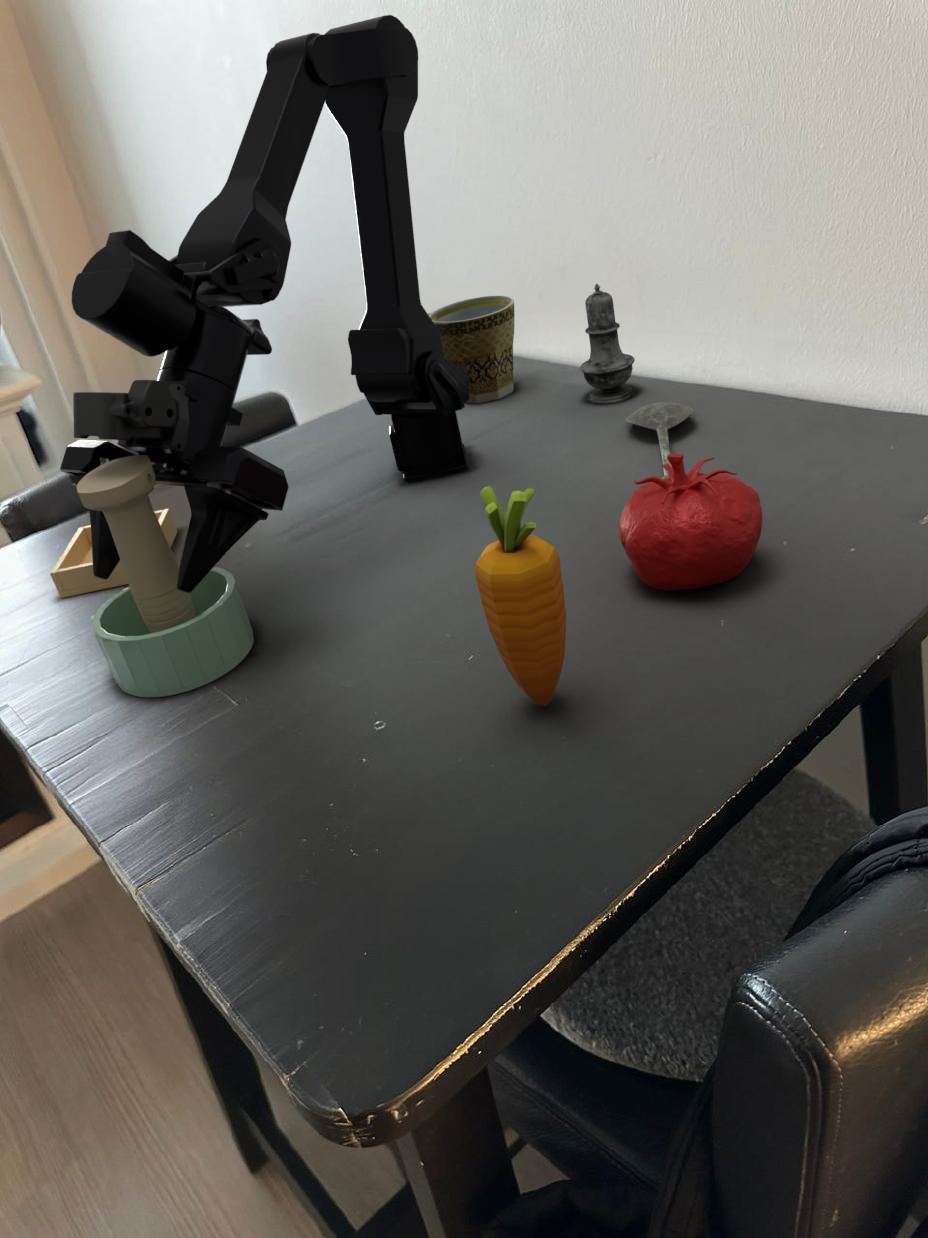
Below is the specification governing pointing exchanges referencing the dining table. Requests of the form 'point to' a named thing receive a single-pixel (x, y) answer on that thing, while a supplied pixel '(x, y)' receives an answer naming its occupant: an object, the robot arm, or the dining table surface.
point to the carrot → (523, 598)
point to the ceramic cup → (480, 343)
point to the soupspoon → (661, 422)
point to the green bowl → (175, 640)
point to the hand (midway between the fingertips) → (140, 584)
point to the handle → (138, 539)
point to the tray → (77, 562)
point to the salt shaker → (605, 353)
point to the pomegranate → (690, 527)
